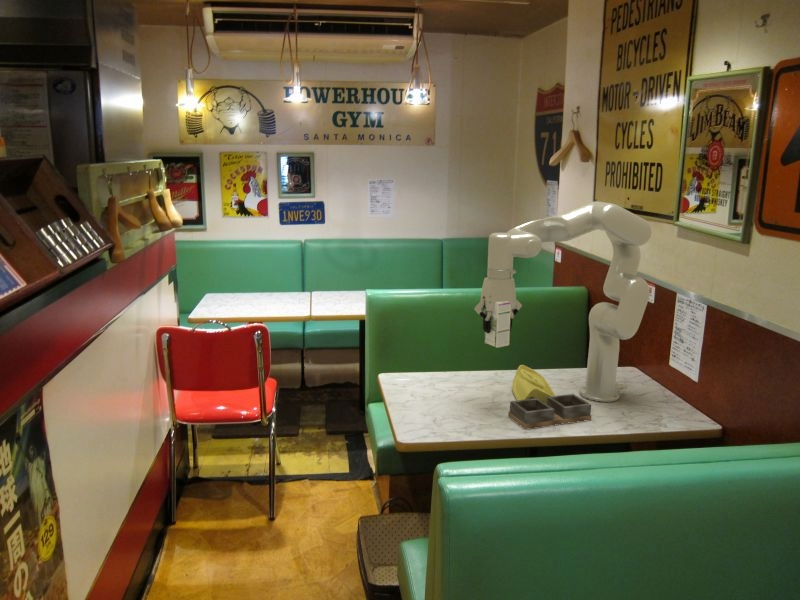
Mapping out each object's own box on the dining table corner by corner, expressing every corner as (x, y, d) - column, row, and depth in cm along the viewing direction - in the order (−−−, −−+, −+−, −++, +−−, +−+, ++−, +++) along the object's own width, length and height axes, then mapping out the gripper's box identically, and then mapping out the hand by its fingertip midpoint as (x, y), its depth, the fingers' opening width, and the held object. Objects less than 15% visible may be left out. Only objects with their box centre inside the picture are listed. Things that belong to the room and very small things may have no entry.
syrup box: (509, 345, 210) (512, 299, 207) (495, 348, 207) (497, 301, 203) (497, 340, 215) (499, 295, 211) (483, 343, 211) (485, 298, 208)
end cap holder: (572, 408, 216) (573, 393, 215) (591, 420, 207) (592, 404, 206) (508, 416, 208) (509, 401, 207) (524, 429, 199) (526, 413, 198)
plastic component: (557, 399, 218) (531, 386, 216) (545, 417, 220) (519, 405, 218) (542, 374, 237) (517, 362, 235) (531, 391, 239) (506, 379, 237)
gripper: (518, 270, 212) (515, 325, 216) (468, 273, 206) (466, 330, 210) (531, 274, 205) (528, 331, 209) (479, 278, 199) (477, 336, 203)
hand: (497, 330), depth 210 cm, fingers closed on syrup box, 6 cm apart
